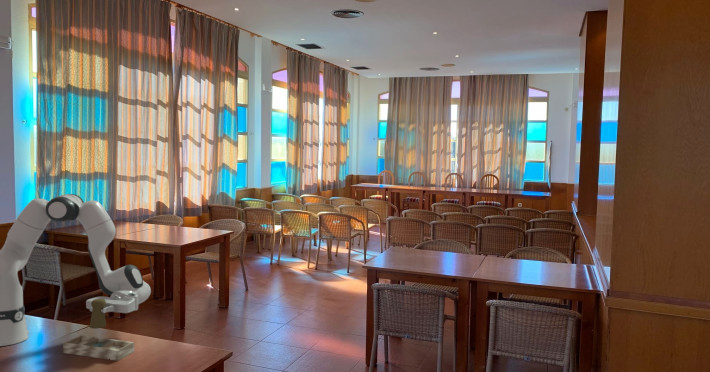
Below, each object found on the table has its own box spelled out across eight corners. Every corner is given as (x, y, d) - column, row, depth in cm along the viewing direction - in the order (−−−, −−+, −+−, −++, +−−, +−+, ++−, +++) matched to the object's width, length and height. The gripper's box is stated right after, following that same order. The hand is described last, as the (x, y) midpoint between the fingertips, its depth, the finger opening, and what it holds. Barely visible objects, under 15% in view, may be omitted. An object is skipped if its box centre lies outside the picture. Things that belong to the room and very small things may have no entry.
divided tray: (63, 352, 204) (63, 343, 203) (81, 344, 212) (80, 335, 212) (118, 360, 197) (118, 350, 197) (134, 351, 206) (134, 342, 206)
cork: (99, 329, 200) (100, 301, 200) (86, 327, 201) (86, 300, 201) (109, 324, 206) (110, 298, 206) (96, 323, 207) (97, 296, 207)
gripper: (100, 291, 218) (75, 300, 205) (141, 295, 213) (118, 305, 200) (100, 305, 219) (75, 315, 206) (141, 310, 214) (118, 320, 200)
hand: (96, 310), depth 203 cm, fingers closed on cork, 4 cm apart
